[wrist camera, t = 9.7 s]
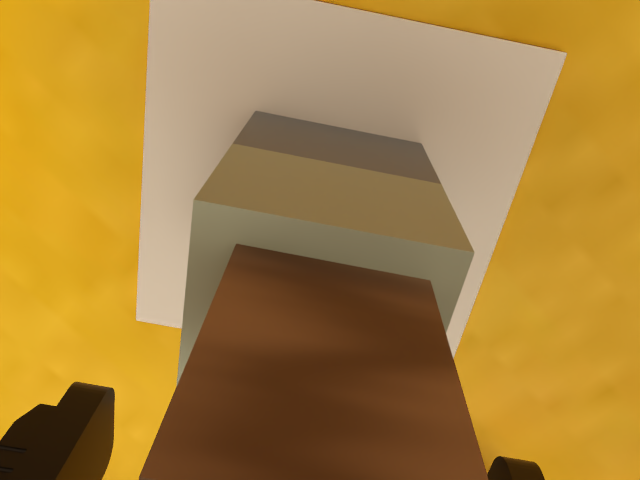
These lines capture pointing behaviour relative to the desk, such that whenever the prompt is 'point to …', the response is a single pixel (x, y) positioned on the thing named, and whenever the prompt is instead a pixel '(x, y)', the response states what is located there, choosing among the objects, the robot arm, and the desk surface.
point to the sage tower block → (320, 225)
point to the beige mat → (330, 113)
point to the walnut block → (317, 380)
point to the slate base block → (337, 146)
